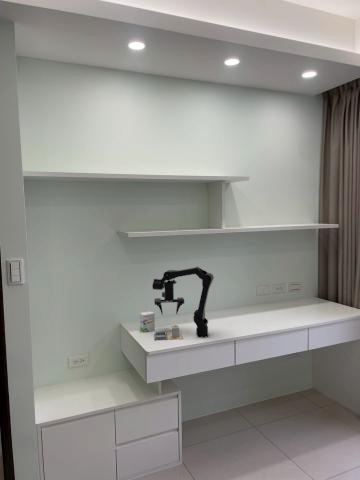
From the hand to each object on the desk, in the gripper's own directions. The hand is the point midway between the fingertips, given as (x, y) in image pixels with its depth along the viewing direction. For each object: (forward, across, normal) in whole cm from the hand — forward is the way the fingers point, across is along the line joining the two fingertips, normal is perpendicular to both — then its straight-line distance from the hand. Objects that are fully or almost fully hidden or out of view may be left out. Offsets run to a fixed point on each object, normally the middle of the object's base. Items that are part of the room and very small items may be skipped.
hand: (169, 314), depth 235 cm
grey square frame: (+12, +6, +8) cm, 16 cm away
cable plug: (+12, -3, +8) cm, 15 cm away
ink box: (+12, +14, -6) cm, 20 cm away
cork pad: (+12, -3, +8) cm, 15 cm away
